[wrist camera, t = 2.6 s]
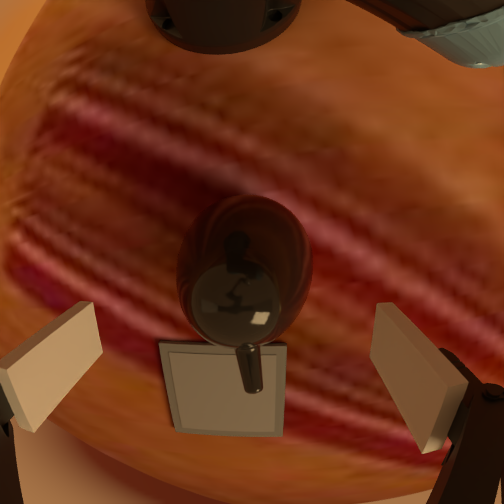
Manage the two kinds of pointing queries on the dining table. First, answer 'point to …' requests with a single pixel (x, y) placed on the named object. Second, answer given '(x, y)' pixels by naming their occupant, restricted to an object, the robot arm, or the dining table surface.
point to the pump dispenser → (244, 277)
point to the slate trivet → (223, 390)
